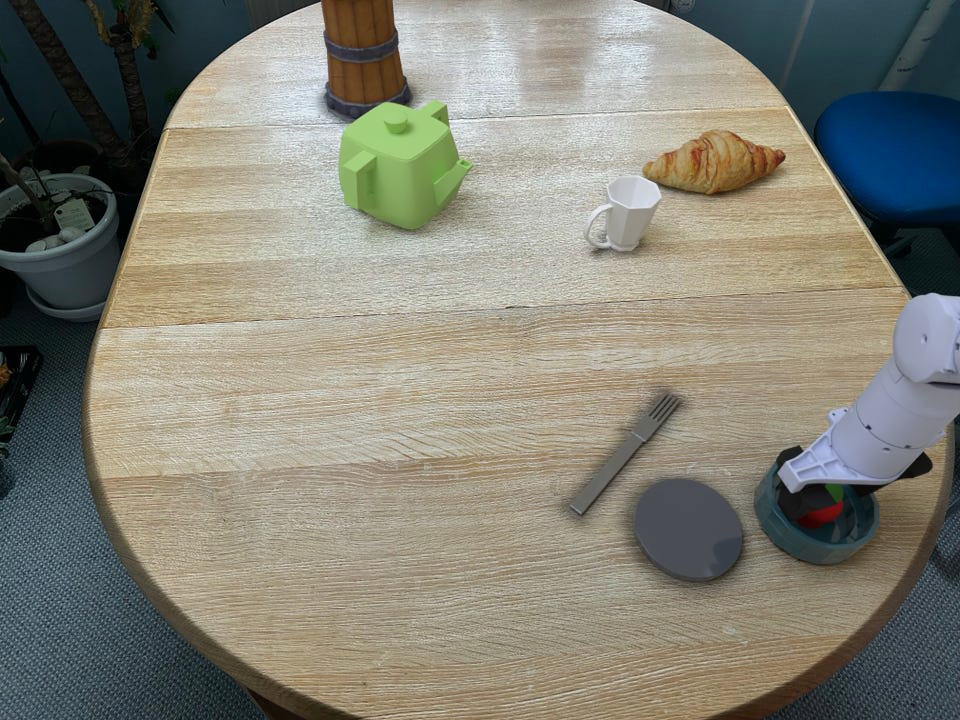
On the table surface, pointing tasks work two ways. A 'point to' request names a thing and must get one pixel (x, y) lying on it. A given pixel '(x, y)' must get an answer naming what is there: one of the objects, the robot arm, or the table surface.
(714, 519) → the plate
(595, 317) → the table surface
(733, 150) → the croissant
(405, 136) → the teapot
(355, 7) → the mug
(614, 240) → the cup
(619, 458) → the fork
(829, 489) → the strawberry
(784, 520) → the bowl
